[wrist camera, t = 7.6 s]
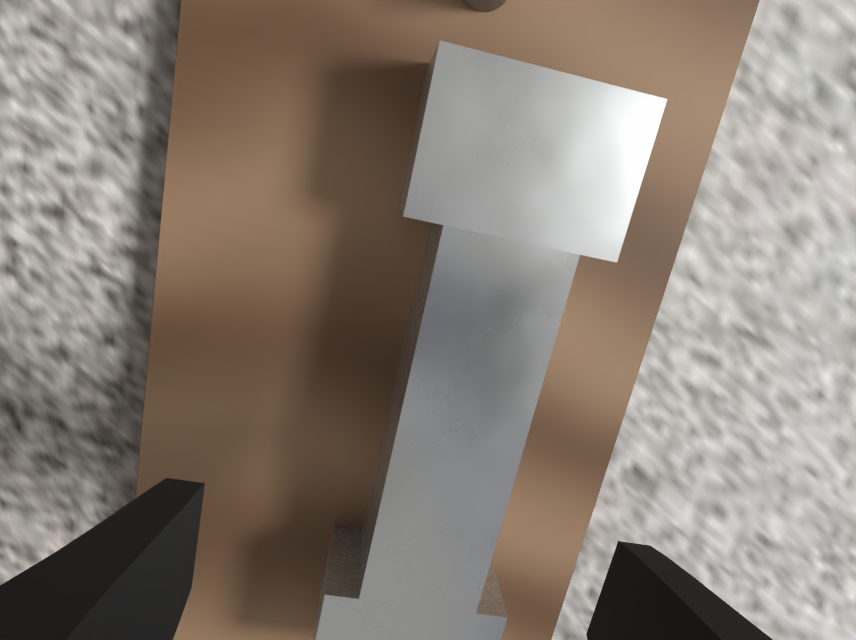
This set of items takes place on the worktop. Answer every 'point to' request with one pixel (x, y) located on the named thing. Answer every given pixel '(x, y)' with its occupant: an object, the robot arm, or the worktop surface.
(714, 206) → the worktop surface
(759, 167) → the worktop surface
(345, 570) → the grey stepped bar
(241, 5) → the rack board
